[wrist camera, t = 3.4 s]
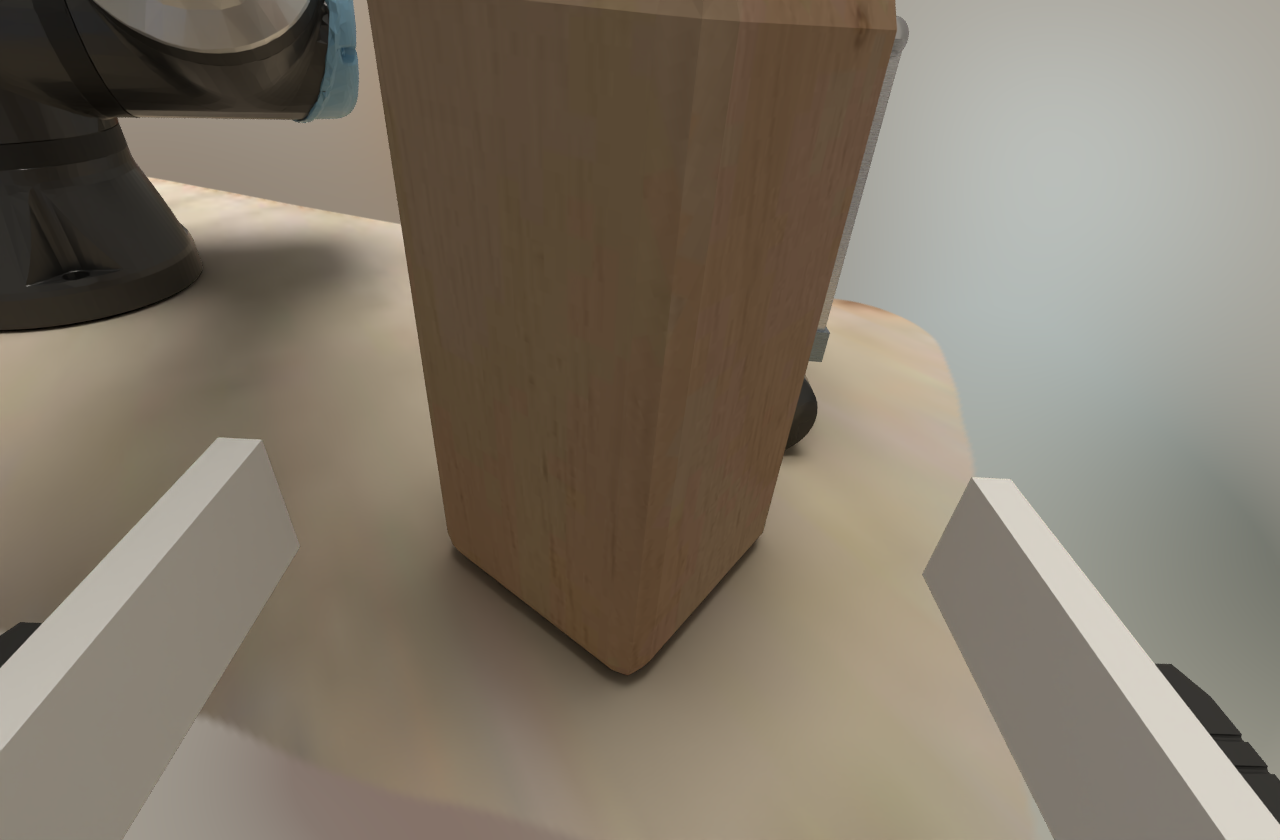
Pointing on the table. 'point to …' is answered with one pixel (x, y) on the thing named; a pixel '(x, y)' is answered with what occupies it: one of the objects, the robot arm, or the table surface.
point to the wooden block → (620, 276)
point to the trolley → (845, 245)
